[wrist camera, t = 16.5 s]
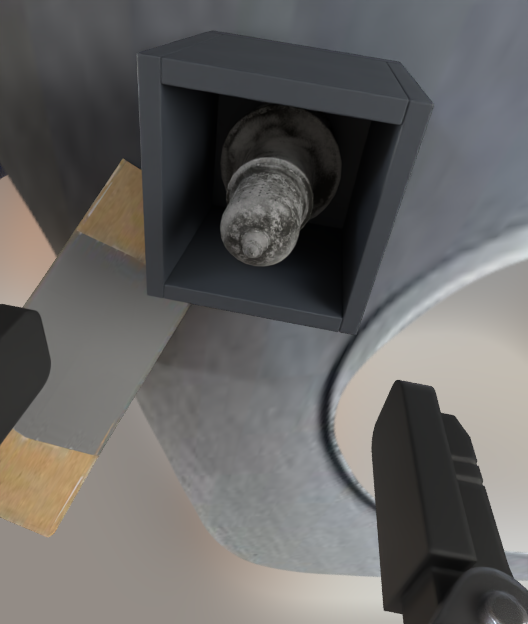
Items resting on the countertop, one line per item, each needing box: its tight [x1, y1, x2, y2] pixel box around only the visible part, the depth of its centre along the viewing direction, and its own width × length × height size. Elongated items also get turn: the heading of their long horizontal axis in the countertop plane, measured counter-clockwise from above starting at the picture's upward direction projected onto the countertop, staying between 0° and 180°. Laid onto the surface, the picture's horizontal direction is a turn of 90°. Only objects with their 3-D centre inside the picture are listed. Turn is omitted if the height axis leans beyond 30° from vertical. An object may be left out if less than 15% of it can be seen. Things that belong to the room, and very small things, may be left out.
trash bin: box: [137, 31, 434, 335], centre depth 21 cm, size 10×10×10 cm
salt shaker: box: [220, 102, 342, 266], centre depth 19 cm, size 6×6×12 cm
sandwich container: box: [0, 159, 191, 537], centre depth 26 cm, size 9×15×15 cm, turn 146°
